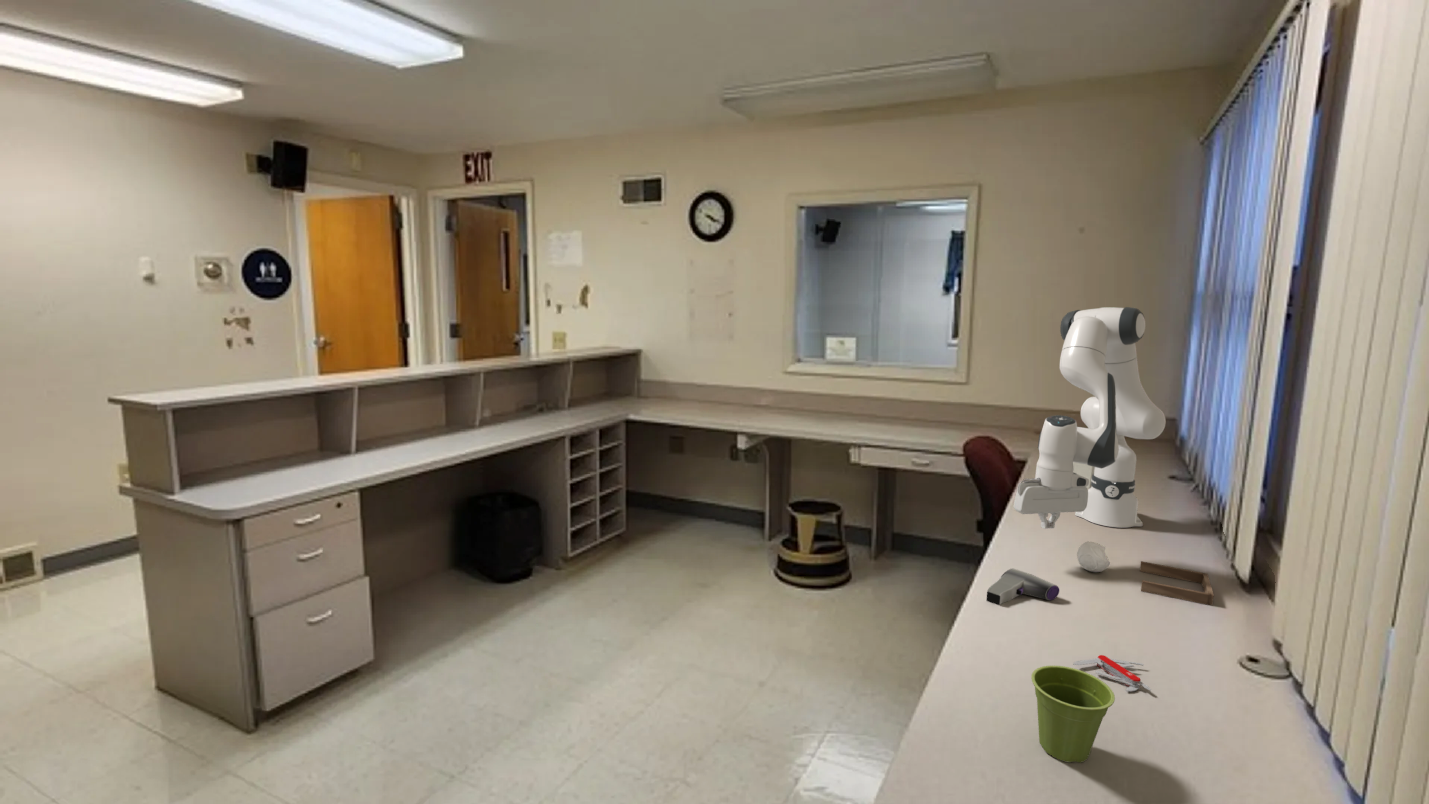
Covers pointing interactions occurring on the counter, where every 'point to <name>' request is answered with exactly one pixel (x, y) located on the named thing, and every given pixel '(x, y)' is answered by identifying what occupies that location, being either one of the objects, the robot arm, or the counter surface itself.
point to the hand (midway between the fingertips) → (1047, 527)
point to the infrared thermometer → (1020, 587)
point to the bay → (1177, 592)
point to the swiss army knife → (1116, 671)
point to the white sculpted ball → (1092, 557)
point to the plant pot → (1069, 710)
